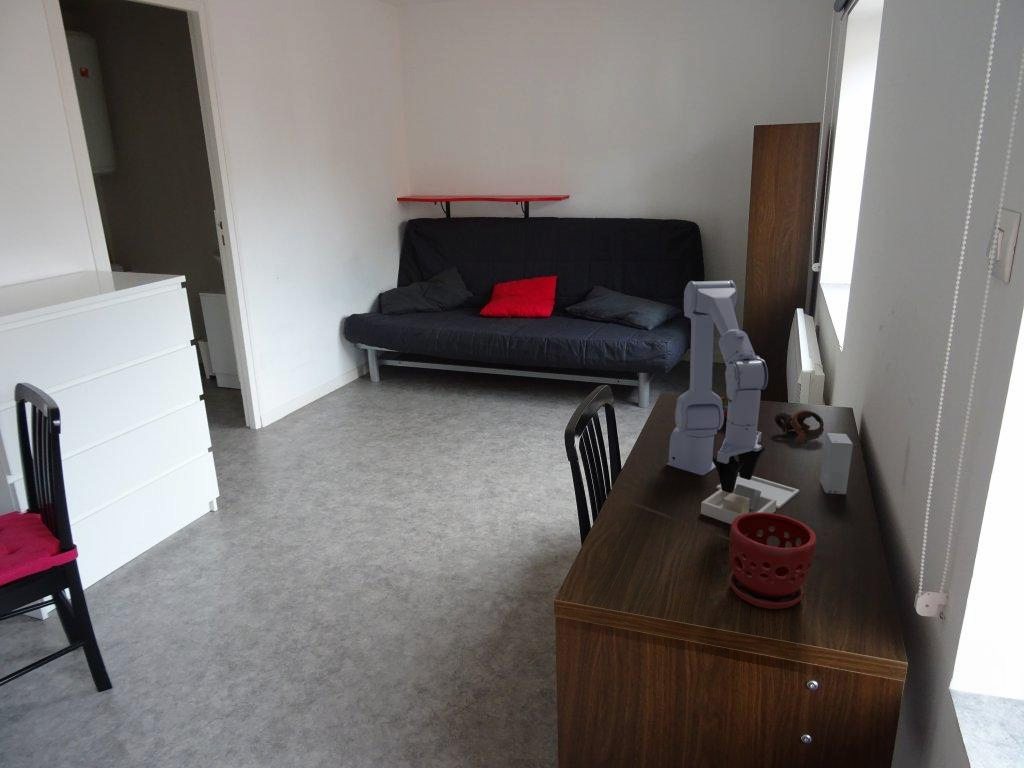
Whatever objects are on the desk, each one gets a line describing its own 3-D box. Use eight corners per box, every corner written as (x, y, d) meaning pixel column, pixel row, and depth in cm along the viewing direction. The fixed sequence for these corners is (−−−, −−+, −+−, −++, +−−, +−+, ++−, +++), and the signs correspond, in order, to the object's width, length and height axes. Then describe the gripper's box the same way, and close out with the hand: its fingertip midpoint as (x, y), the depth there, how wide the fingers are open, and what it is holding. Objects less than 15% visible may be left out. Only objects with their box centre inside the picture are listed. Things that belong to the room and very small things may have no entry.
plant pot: (807, 624, 111) (816, 556, 108) (720, 605, 116) (726, 540, 113) (809, 579, 123) (817, 517, 119) (730, 564, 128) (735, 504, 124)
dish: (700, 515, 145) (701, 502, 144) (726, 497, 153) (727, 484, 152) (751, 533, 138) (752, 519, 137) (775, 513, 146) (776, 499, 145)
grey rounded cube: (731, 502, 146) (736, 483, 146) (737, 503, 149) (743, 485, 149) (749, 509, 143) (755, 489, 143) (756, 509, 146) (761, 491, 146)
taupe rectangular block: (721, 516, 144) (723, 498, 142) (729, 510, 146) (731, 492, 145) (740, 523, 141) (742, 504, 140) (748, 516, 143) (749, 498, 142)
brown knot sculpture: (818, 433, 187) (830, 413, 181) (812, 460, 182) (823, 440, 176) (773, 417, 191) (782, 397, 185) (765, 442, 185) (774, 422, 179)
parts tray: (716, 490, 156) (716, 486, 155) (737, 475, 163) (738, 471, 162) (779, 510, 147) (779, 506, 146) (798, 494, 153) (799, 489, 153)
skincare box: (846, 496, 152) (853, 444, 148) (825, 494, 153) (831, 442, 149) (839, 484, 158) (846, 433, 154) (819, 482, 159) (825, 432, 155)
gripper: (744, 436, 130) (738, 503, 134) (778, 415, 140) (771, 478, 144) (709, 427, 135) (704, 492, 139) (744, 407, 145) (739, 468, 149)
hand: (736, 484), depth 142 cm, fingers open, 7 cm apart
